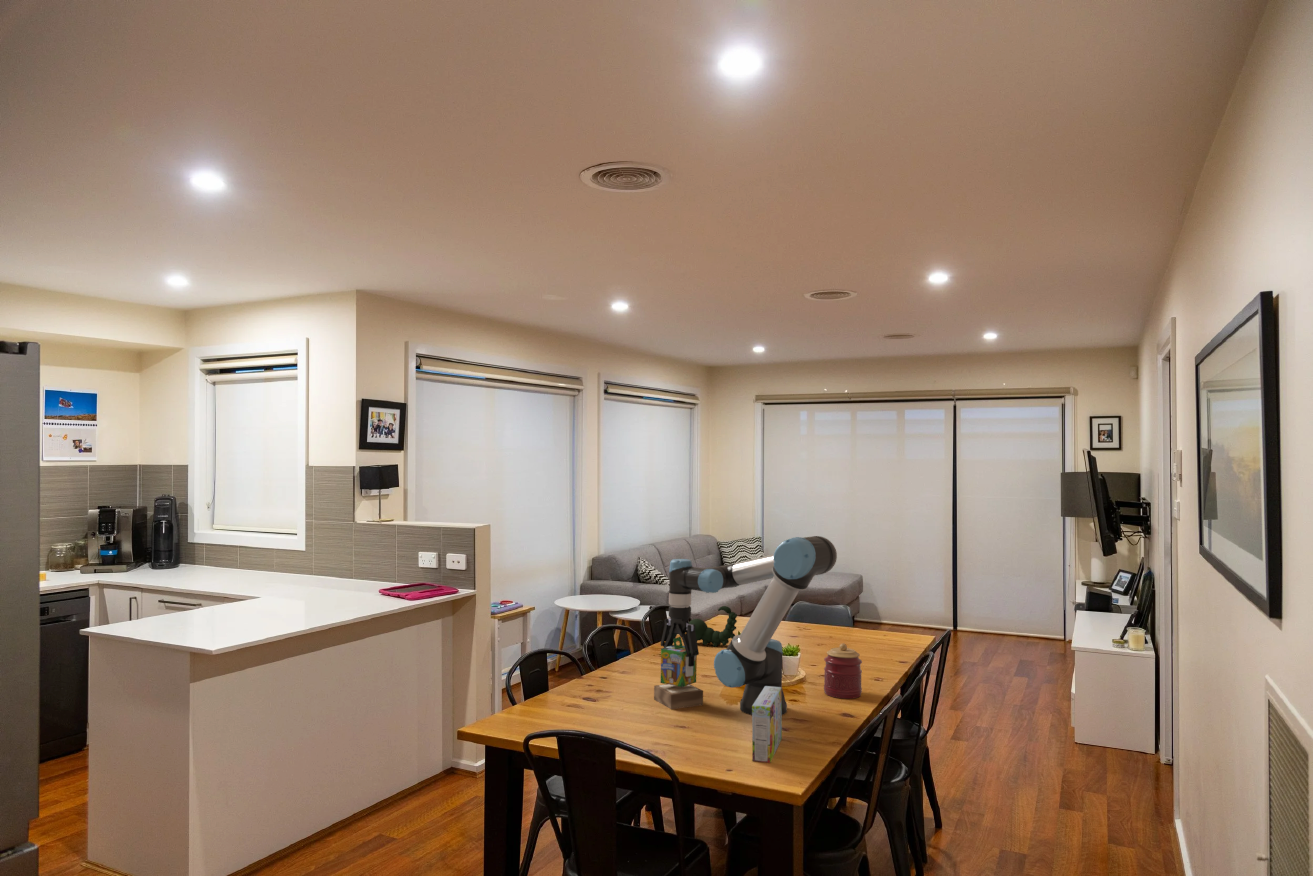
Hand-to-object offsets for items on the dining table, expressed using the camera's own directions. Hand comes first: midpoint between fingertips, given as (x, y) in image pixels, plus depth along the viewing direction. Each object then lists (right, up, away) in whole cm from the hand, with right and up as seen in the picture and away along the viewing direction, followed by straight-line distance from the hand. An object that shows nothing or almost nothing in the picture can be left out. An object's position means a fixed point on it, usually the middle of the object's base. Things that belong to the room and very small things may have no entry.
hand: (678, 672), depth 274 cm
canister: (+58, -12, +13) cm, 60 cm away
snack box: (+23, -9, -45) cm, 52 cm away
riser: (0, -10, 0) cm, 10 cm away
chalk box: (0, -4, 0) cm, 4 cm away
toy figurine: (+15, -14, +89) cm, 91 cm away
